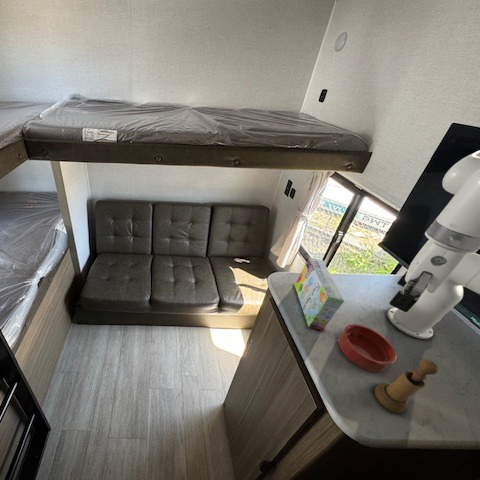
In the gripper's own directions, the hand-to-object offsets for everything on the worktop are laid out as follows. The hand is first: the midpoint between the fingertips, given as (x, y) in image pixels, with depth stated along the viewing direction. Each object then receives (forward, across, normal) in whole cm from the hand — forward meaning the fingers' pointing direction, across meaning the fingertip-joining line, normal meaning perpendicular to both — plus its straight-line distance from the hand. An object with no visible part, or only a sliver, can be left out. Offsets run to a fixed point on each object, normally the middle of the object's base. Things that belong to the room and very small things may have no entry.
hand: (401, 296), depth 58 cm
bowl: (+31, +11, -3) cm, 33 cm away
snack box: (+31, +17, +16) cm, 39 cm away
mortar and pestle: (+31, 0, -12) cm, 33 cm away
